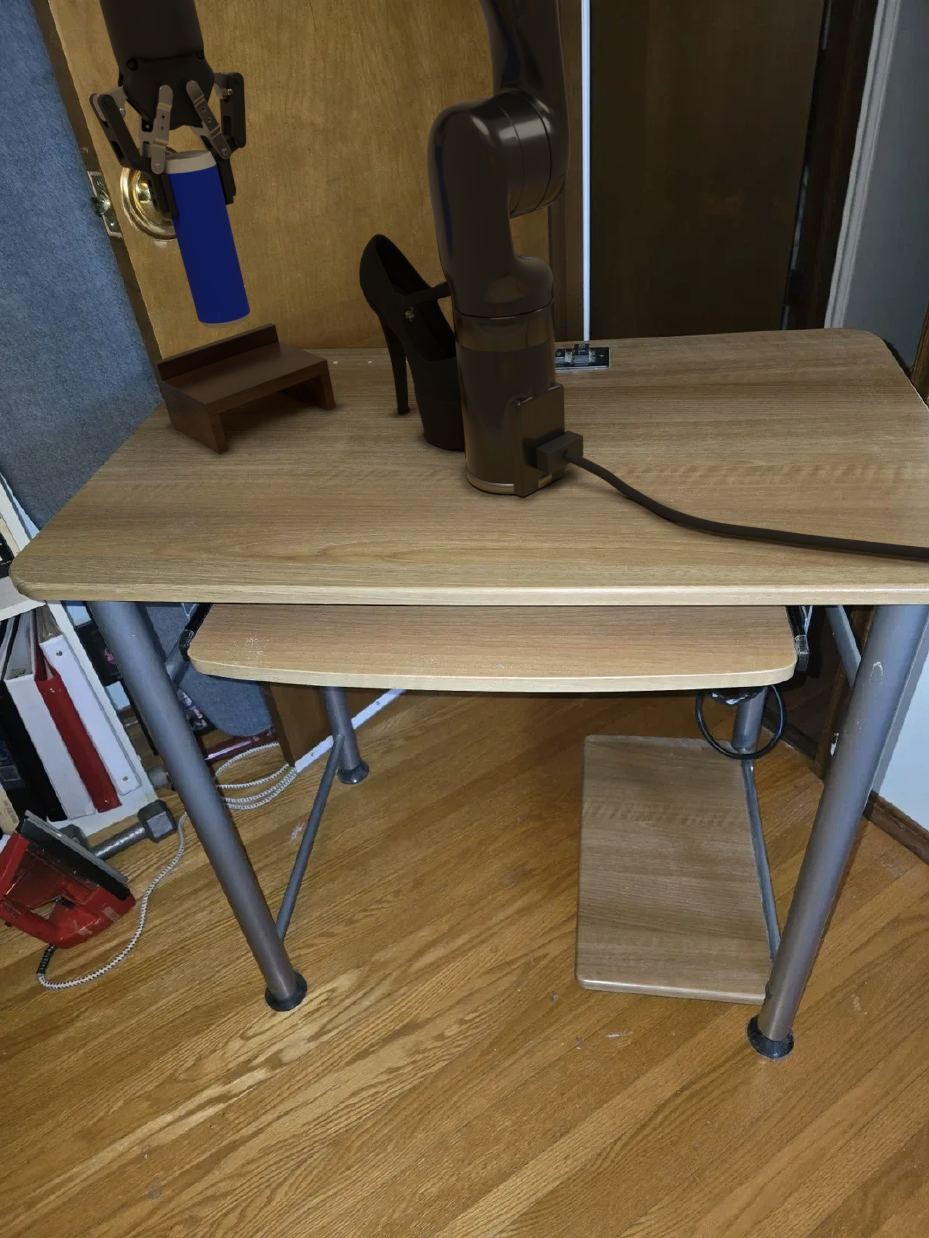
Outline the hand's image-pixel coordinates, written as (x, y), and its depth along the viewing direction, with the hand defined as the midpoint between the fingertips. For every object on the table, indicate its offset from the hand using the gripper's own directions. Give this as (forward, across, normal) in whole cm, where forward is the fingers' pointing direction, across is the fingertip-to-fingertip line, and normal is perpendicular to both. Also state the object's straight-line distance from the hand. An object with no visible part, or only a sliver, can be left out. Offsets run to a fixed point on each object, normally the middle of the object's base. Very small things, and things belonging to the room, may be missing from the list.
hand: (198, 209), depth 82 cm
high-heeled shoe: (+26, +17, -11) cm, 33 cm away
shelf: (+26, +6, +10) cm, 28 cm away
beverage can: (+11, 0, 0) cm, 11 cm away
